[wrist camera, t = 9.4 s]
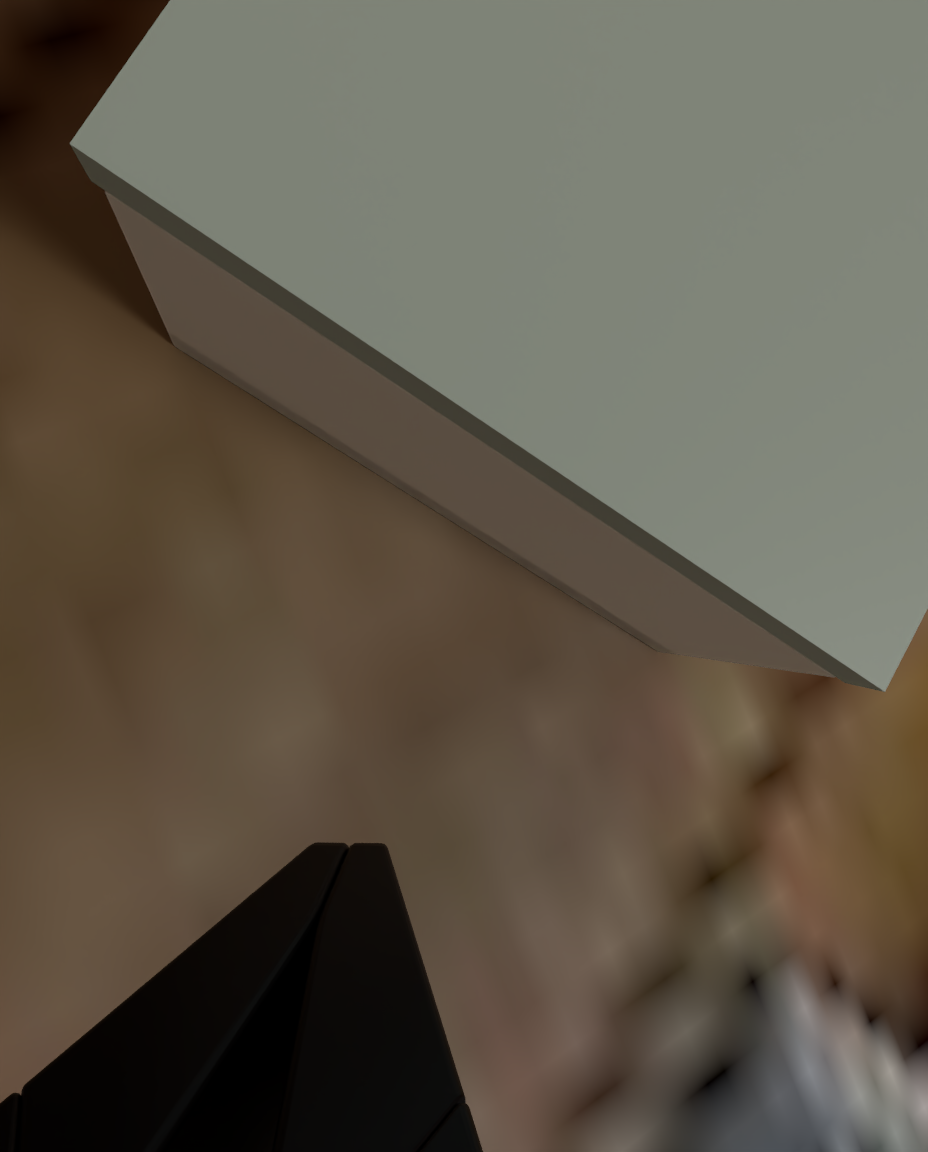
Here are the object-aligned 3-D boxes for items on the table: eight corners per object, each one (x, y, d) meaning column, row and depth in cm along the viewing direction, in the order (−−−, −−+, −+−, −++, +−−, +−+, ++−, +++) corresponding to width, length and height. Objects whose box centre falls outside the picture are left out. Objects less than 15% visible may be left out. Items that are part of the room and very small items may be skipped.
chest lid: (844, 683, 14) (884, 691, 13) (90, 181, 11) (69, 144, 10) (1098, 194, 15) (1152, 170, 14) (485, -388, 12) (499, -471, 11)
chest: (657, 651, 21) (834, 677, 14) (174, 345, 18) (104, 191, 11) (821, 333, 23) (1047, 221, 16) (408, 5, 20) (472, -305, 13)
